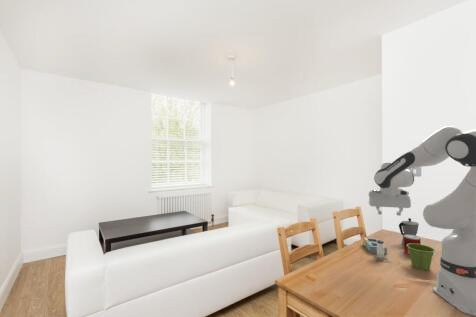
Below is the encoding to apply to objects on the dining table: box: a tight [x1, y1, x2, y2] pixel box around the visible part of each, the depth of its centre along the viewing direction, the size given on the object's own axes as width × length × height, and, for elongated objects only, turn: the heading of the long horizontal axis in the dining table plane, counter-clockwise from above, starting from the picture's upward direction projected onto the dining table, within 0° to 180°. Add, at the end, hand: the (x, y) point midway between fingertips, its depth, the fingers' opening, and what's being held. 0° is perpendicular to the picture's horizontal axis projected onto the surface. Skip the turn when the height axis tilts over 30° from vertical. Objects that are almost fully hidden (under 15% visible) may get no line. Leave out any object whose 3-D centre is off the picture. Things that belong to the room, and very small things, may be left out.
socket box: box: [362, 237, 388, 255], centre depth 145 cm, size 16×9×5 cm, turn 165°
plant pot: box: [407, 243, 436, 271], centre depth 121 cm, size 12×12×11 cm
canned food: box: [403, 235, 422, 256], centre depth 138 cm, size 8×8×11 cm
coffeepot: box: [398, 217, 420, 246], centre depth 153 cm, size 15×9×18 cm, turn 103°
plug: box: [376, 239, 385, 260], centre depth 131 cm, size 4×4×10 cm
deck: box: [370, 253, 391, 264], centre depth 131 cm, size 10×7×1 cm
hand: (389, 214), depth 130 cm, fingers open, 8 cm apart
